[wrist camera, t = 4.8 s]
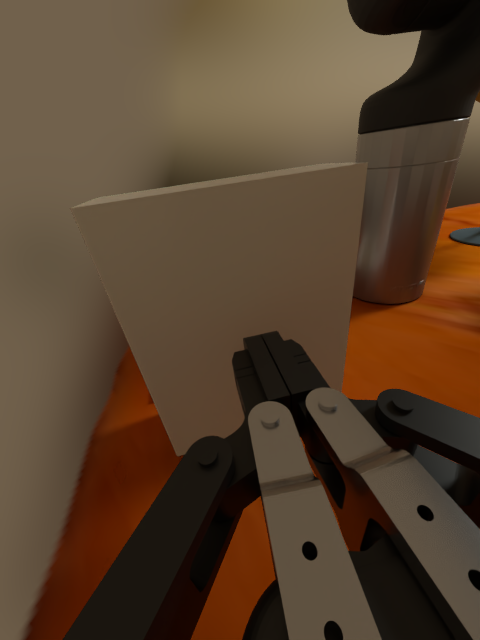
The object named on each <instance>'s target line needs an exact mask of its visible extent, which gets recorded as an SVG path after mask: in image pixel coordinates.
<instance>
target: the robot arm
mask: <svg viewBox="0 0 480 640" xmlns="http://www.w3.org/2000/svg"><path fill="white" fill-rule="evenodd" d="M347 2H348V7H349V12H350V14H351V16H352V19H353V20H354V22H355V23H356V25H357V26H358V27H359V28H360V29H362V30H363V31H365V32H368V33H372V34H378V35H391V34H398V33H406V32H414V31H421V36H420V40H419V44H418V48H417V52H416V55H415V58H414V61H413V64H412V66H411V67H410V68H409V69H408V71H407V72H406V73H405V74H404V75H403V76H402V77H400V78H399V79H398V80H396V81H395V82H394V83H392V84H390V85H389V86H387V87H385V88H383V89H382V90H380V91H378V92H376V93H375V94H373V95H371V96H370V97H369V98H368V99H366V100H365V102H364V103H363V105H362V108H361V112H360V118H359V128H358V134H360V135H358V141H357V151H356V162H355V163H363V162H368V167H367V176H366V184H365V193H364V202H363V210H362V219H361V228H360V236H359V245H358V253H357V262H356V271H355V279H354V288H353V296H354V297H356V298H359V299H361V300H365V301H369V302H375V303H385V304H394V303H404V302H409V301H412V300H415V299H417V298H419V297H420V296H421V295H422V293H423V289H424V285H425V282H426V278H427V275H428V271H429V267H430V264H431V261H432V257H433V253H434V250H435V246H436V242H437V239H438V235H439V231H440V228H441V224H442V220H443V217H444V213H445V209H446V205H447V202H448V198H449V194H450V191H451V187H452V183H453V179H454V176H455V172H456V169H457V165H458V161H459V156H460V153H461V149H462V146H463V142H464V139H465V134H466V131H467V127H468V124H469V120H470V118H467V117H470V116H471V112H472V109H473V105H474V102H475V99H476V97H477V95H478V93H479V91H480V0H347ZM243 344H244V350H242V351H237V352H234V355H233V358H232V366H233V371H234V377H235V382H236V388H237V391H238V395H239V399H240V402H241V406H242V410H243V413H244V417H245V419H244V421H243V423H242V425H241V426H240V427H239V428H238V429H237V430H236V431H235V432H234V433H232V434H231V435H229V436H227V437H226V438H224V439H223V438H221V437H218V436H206V437H203V438H201V439H199V440H197V441H196V442H194V443H193V444H192V445H191V446H190V448H189V449H188V451H187V452H186V454H185V455H184V457H183V458H182V460H181V461H180V463H179V464H178V466H177V467H176V469H175V470H174V472H173V473H172V475H171V476H170V478H169V479H168V481H167V482H166V484H165V485H164V487H163V488H162V490H161V491H160V493H159V494H158V496H157V498H156V499H155V501H154V502H153V504H152V505H151V507H150V508H149V510H148V511H147V513H146V514H145V516H144V517H143V519H142V520H141V522H140V523H139V525H138V526H137V528H136V529H135V531H134V532H133V534H132V535H131V537H130V538H129V540H128V541H127V543H126V544H125V546H124V547H123V549H122V550H121V552H120V554H119V555H118V557H117V558H116V560H115V561H114V563H113V564H112V566H111V567H110V569H109V570H108V572H107V573H106V575H105V576H104V578H103V579H102V581H101V582H100V584H99V585H98V587H97V588H96V590H95V591H94V593H93V594H92V596H91V597H90V599H89V600H88V602H87V603H86V605H85V607H84V608H83V610H82V611H81V613H80V614H79V616H78V617H77V619H76V620H75V622H74V623H73V625H72V626H71V628H70V629H69V631H68V632H67V634H66V635H65V637H64V638H63V640H190V639H191V637H192V635H193V632H194V630H195V627H196V625H197V622H198V620H199V617H200V615H201V613H202V610H203V608H204V605H205V603H206V600H207V598H208V595H209V593H210V590H211V588H212V586H213V583H214V581H215V578H216V576H217V573H218V571H219V568H220V566H221V563H222V561H223V559H224V556H225V554H226V551H227V549H228V546H229V544H230V541H231V539H232V536H233V534H234V532H235V529H236V527H237V524H238V522H239V519H240V517H241V514H242V511H243V509H244V508H246V507H247V506H248V505H249V504H251V503H252V502H253V501H255V500H256V499H257V498H258V497H260V496H261V500H262V506H263V511H264V517H265V522H266V527H267V533H268V539H269V544H270V550H271V556H272V561H273V567H274V572H275V578H276V580H274V581H273V582H272V583H271V584H270V586H269V587H268V588H267V589H266V590H265V591H264V593H263V594H262V596H261V597H260V599H259V600H258V602H257V604H256V606H255V608H254V610H253V611H252V613H251V616H250V618H249V621H248V623H247V626H246V629H245V632H244V635H243V638H242V640H480V418H478V417H475V416H473V415H470V414H467V413H465V412H462V411H459V410H456V409H454V408H451V407H448V406H446V405H443V404H440V403H438V402H435V401H432V400H430V399H427V398H424V397H421V396H419V395H416V394H413V393H411V392H408V391H405V390H401V389H388V390H385V391H383V392H381V393H380V394H379V396H378V399H377V400H354V399H349V398H347V397H346V396H345V395H344V394H343V393H341V392H339V391H338V390H335V389H332V388H330V386H329V385H328V383H327V382H326V381H325V379H324V378H323V376H322V375H321V373H320V372H319V371H318V369H317V368H316V366H315V365H314V363H313V362H311V359H310V358H309V356H308V355H307V354H306V352H305V350H304V349H303V347H302V346H301V345H300V344H298V343H297V342H295V341H294V340H292V339H289V340H285V341H284V340H283V339H282V337H281V336H280V334H279V332H278V331H272V332H268V333H263V334H259V335H255V336H250V337H246V338H243ZM300 437H301V438H302V440H303V442H304V444H305V450H304V448H303V445H302V442H301V439H300ZM419 445H420V446H419ZM421 446H422V447H421ZM423 447H424V448H423ZM425 448H426V449H425ZM427 449H428V450H427ZM429 450H431V451H429ZM432 451H433V452H432ZM434 452H435V453H434ZM436 453H437V454H436ZM438 454H439V455H438ZM440 455H441V456H440ZM442 456H443V457H442ZM444 457H446V458H448V459H446V458H444ZM449 459H450V460H449ZM451 460H452V461H451ZM453 461H454V462H453ZM455 462H456V463H455ZM457 463H458V464H457ZM460 464H461V465H460ZM310 466H311V467H310ZM311 468H312V470H313V471H314V473H315V475H316V477H315V476H314V474H313V472H312V470H311ZM329 502H330V503H331V505H332V507H333V509H334V511H335V513H336V516H337V518H338V522H339V526H340V529H341V532H342V534H341V532H340V529H339V526H338V524H337V521H336V518H335V516H334V513H333V511H332V508H331V505H330V503H329ZM342 535H343V537H342ZM343 538H344V539H343ZM344 540H345V542H346V545H347V547H348V549H349V551H348V550H347V547H346V545H345V542H344Z"/></svg>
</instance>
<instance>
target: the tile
mask: <svg viewBox="0 0 480 640" xmlns="http://www.w3.org/2000/svg"><path fill="white" fill-rule="evenodd" d="M367 167H368V162H363V163H324V164H317V165H310V166H304V167H297V168H290V169H284V170H277V171H271V172H264V173H257V174H251V175H244V176H237V177H231V178H225V179H218V180H212V181H204V182H198V183H191V184H185V185H178V186H171V187H166V188H159V189H152V190H145V191H139V192H133V193H125V194H119V195H112V196H106V197H99V198H96V199H93V200H90V201H88V202H85V203H83V204H80V205H78V206H75V207H72V208H71V211H72V214H73V216H74V218H75V221H76V223H77V225H78V228H79V230H80V232H81V235H82V237H83V239H84V242H85V244H86V246H87V248H88V251H89V253H90V256H91V258H92V260H93V263H94V265H95V267H96V269H97V272H98V274H99V276H100V279H101V281H102V283H103V286H104V288H105V290H106V293H107V295H108V297H109V300H110V302H111V304H112V307H113V309H114V311H115V314H116V316H117V318H118V320H119V322H120V325H121V328H122V330H123V332H124V334H125V337H126V339H127V341H128V344H129V346H130V348H131V351H132V353H133V355H134V358H135V360H136V362H137V365H138V367H139V369H140V372H141V374H142V376H143V379H144V381H145V383H146V386H147V388H148V390H149V392H150V395H151V397H152V399H153V402H154V404H155V406H156V409H157V411H158V413H159V416H160V418H161V420H162V423H163V425H164V427H165V430H166V432H167V434H168V437H169V439H170V441H171V443H172V446H173V448H174V450H175V453H176V455H177V456H181V455H185V454H186V452H187V451H188V449H189V448H190V446H191V445H192V444H193V443H194V442H196V441H197V440H199V439H201V438H203V437H206V436H218V437H221V438H223V439H224V438H226V437H227V436H229V435H231V434H232V433H234V432H235V431H236V430H237V429H238V428H239V427H240V426H241V425H242V423H243V421H244V419H245V417H244V413H243V410H242V406H241V402H240V399H239V395H238V391H237V388H236V382H235V377H234V371H233V366H232V358H233V355H234V352H237V351H242V350H244V344H243V338H246V337H250V336H255V335H259V334H263V333H268V332H272V331H278V332H279V334H280V336H281V337H282V339H283V340H284V341H285V340H289V339H292V340H294V341H295V342H297V343H298V344H300V345H301V346H302V347H303V349H304V350H305V352H306V354H307V355H308V356H309V358H310V359H311V362H313V363H314V365H315V366H316V368H317V369H318V371H319V372H320V373H321V375H322V376H323V378H324V379H325V381H326V382H327V383H328V385H329V386H330V388H332V389H335V390H338V391H339V392H342V383H343V375H344V366H345V357H346V349H347V340H348V331H349V323H350V314H351V305H352V297H353V288H354V279H355V271H356V262H357V253H358V245H359V236H360V228H361V219H362V210H363V202H364V193H365V184H366V176H367Z"/></svg>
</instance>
